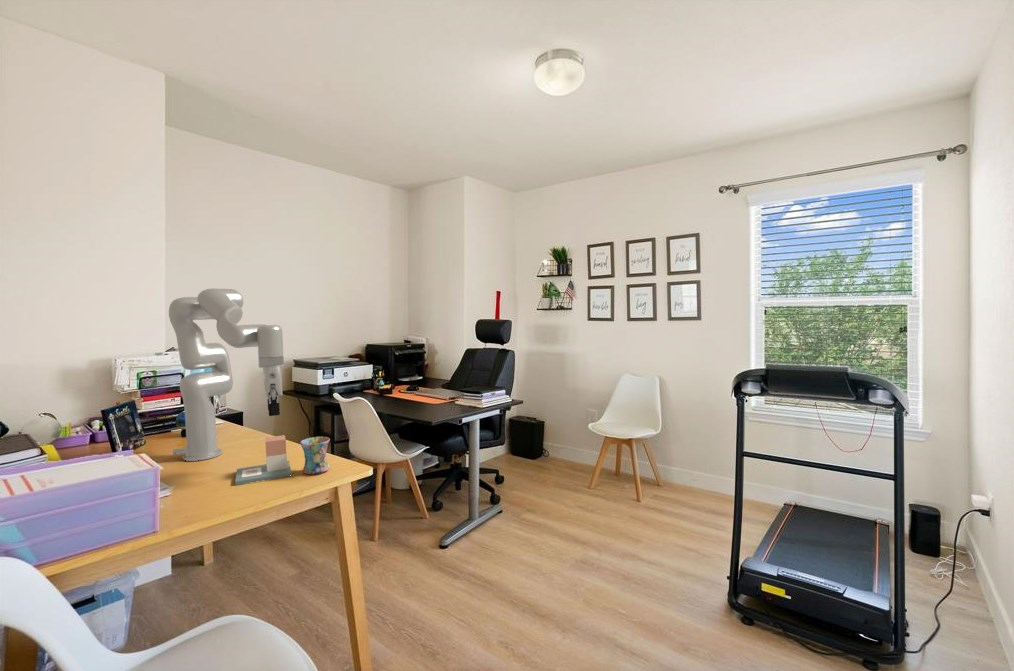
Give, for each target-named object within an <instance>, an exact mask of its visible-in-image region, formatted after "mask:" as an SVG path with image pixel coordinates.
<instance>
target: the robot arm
mask: <svg viewBox="0 0 1014 671" xmlns="http://www.w3.org/2000/svg"><path fill="white" fill-rule="evenodd" d="M243 306H244V298H243V296H242V294H241V293H240V292H239V291H238V290H236V289H233V288H207V289H203V290H201V291H200V292H199V293H198V295H197V296H186V297H185V296H183V297H179V298H176V299H174V300H172V301H171V303H170V304H169V308H168V318H169V321H170V324H171V326H172V328H173V330H174V333H175V336H176V342H177V347H178V348H177V349H178V353H179V359H180V364H181V366H182V368H184V369H185V370H188V371H193V370H194V371H195V370H204V369H205V370H206V369H211V371H203V372H195V373H194V372H193V373H191V374H187V375H186V376H184V377H182V378H181V380H180V382H179V390H180V394H181V397H182V401H183V408H184V420H185V438H186V446H183V447H182V448H173V449H172V455H176V456H178V455H182V460H183V461H185V460H186V461H185V462H197V461H198V460H199V461H204V460H210V459H213V458H216V457H219V456H220V455H222V454H223V450H222V449H221V448H218V442H217V441H218V440H217V439H218V438H217V423H216V410H215V405H213V403H212V402H211V401H210V400H209V399H208V398H210V397H215V396H221V395H226V394H228V393H230V392H231V391H232V389H233V384H234V379H233V374H232V367H231V362H230V356H229V351H228V350H227V349H226V347H225V346H224V345H223V344H221V343H218V342H211V343H206V341H205V337H204V332H203V329H202V328H201V327H200V326H199V325H198V323H196V322H195V321H196V320H197V321H198V320H199V321H200V320H201V321H203V320H204V321H206V320H207V321H208V320H216V324H215V325H216V331H217V334H218V336H219V337H220V339H222V340H223V341H224V342H225V343H226V344H227V345H229V346H231V347H233V348H235V349H241V348H242V349H243V348H244V349H245V348H253V347H257V355H258V368H260V369H262V372H263V373H262V374H263V384H264V386H263V387H264V392H265V396H266V397H267V411H268V415H269V417H273V416H275V417H276V416H279V415H280V402H279V396H280V397H282V396H283V394H284V393H283V380H282V379H283V378H282V376H283V375H282V367H284V366H285V362H284V358H285V357H284V342H283V328H282V327H281V325H278V324H263V323H262V324H261V323H260V324H259V323H258V324H239V325H238V323H239V322H240V321H241V320H242V317H243V309H242V308H243ZM280 416H281V415H280ZM199 461H198V462H199Z"/></svg>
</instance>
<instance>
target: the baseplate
mask: <svg viewBox="0 0 1014 671" xmlns="http://www.w3.org/2000/svg"><path fill="white" fill-rule="evenodd" d="M265 458H266V461H265V462H266V464H260V465H259V464H258V465H252V466H246V467H241V468H236V473H235V486H240V484H242V485H246V484H245V483H248V484H251V483H250V482H254V483H257V482H256V481H259V482H263V481H262V480H265V481H269V480H268V479H271V480H275V479H274V478H277V479H281V478H280V477H283V478H286V477H285V476H289V477H291V476H290V475H292V474H293V472H292V469H291V464H290V461H289V460H288V458H287V453H286V454H282V455H276V456H269V457H266V456H265Z"/></svg>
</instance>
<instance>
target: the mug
mask: <svg viewBox="0 0 1014 671" xmlns="http://www.w3.org/2000/svg"><path fill="white" fill-rule="evenodd" d="M330 441H331V439H330V437H327V436H314V437H308V438H305V439H302V440H300V442H299V444H300V446H301V448H302V450H303V454H304V466H303V469H302V472H303V473H304V474H307V475H317V474H322V473H325V472H326V471H329V470H330V468H331V467H330V466H331V465H329V464H330V463H329V462H328V459H327V453H328V452H327V451H328V446H329V443H330Z"/></svg>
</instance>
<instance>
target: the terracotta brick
mask: <svg viewBox="0 0 1014 671" xmlns="http://www.w3.org/2000/svg"><path fill="white" fill-rule="evenodd" d="M264 440H265V455H266V456H265V458H266V457H269V456H276V455H282V454H286V455H287V442H286V436H285V435H284V434H283V435H277V436H276V435H275V436H268V437H264Z"/></svg>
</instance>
